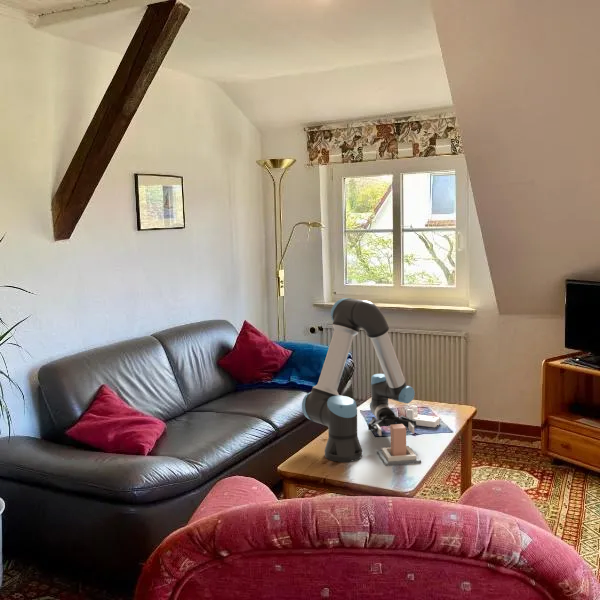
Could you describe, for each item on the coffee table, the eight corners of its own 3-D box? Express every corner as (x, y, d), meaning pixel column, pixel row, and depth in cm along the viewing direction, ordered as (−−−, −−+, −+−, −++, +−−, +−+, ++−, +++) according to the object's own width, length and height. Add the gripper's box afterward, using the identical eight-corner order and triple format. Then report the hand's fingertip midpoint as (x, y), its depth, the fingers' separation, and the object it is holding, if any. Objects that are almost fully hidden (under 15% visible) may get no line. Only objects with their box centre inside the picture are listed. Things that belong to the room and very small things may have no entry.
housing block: (393, 458, 262) (393, 428, 260) (390, 453, 267) (390, 424, 265) (406, 457, 262) (406, 427, 261) (403, 452, 267) (402, 423, 266)
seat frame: (385, 465, 257) (385, 459, 257) (377, 452, 271) (377, 446, 270) (421, 462, 259) (420, 456, 258) (410, 450, 272) (410, 444, 272)
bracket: (407, 425, 304) (406, 409, 303) (412, 421, 310) (412, 405, 309) (434, 429, 297) (434, 413, 296) (439, 424, 303) (439, 408, 302)
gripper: (413, 421, 291) (427, 438, 270) (356, 425, 289) (366, 442, 268) (412, 405, 290) (427, 420, 269) (356, 409, 288) (366, 424, 267)
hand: (397, 431), depth 268 cm, fingers open, 13 cm apart
